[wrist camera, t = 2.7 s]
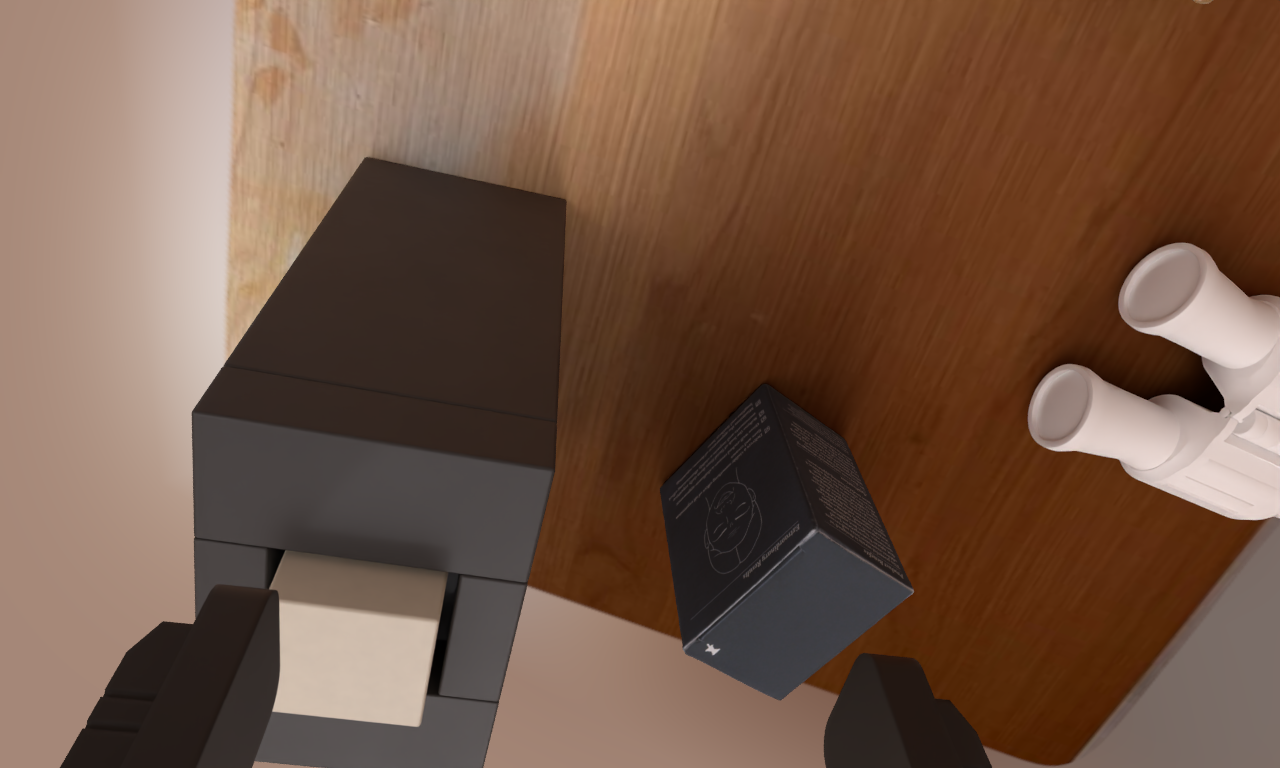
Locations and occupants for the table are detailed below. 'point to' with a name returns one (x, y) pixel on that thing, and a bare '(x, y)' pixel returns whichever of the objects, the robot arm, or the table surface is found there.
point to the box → (776, 547)
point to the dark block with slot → (396, 434)
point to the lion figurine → (1202, 1)
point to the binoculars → (1168, 424)
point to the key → (356, 637)
